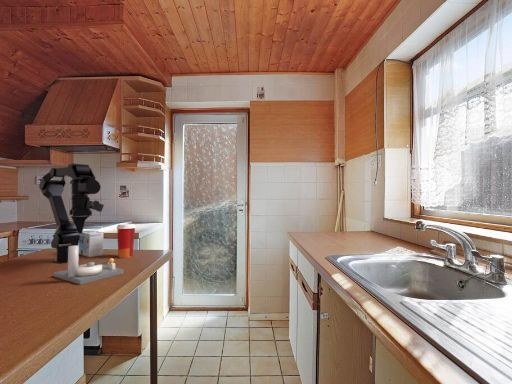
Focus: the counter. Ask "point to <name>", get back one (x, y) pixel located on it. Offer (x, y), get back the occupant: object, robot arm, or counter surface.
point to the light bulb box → (91, 243)
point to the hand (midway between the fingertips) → (80, 233)
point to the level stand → (106, 272)
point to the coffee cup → (125, 240)
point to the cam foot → (83, 269)
